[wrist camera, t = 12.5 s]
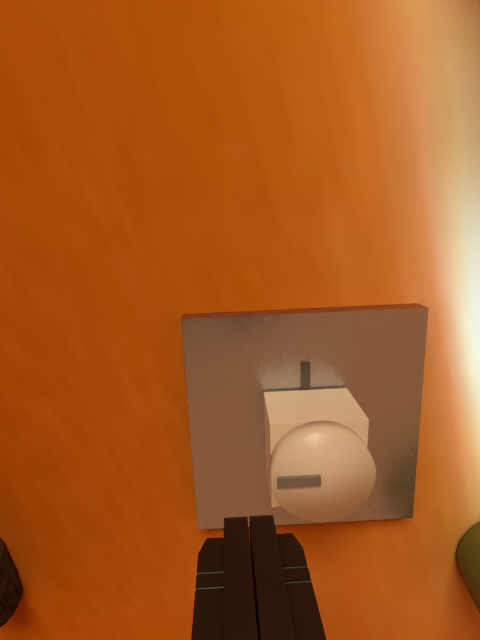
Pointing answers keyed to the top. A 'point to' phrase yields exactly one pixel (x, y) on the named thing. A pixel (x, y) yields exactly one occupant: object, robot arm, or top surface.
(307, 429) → the knob
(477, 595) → the plant pot
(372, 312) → the block
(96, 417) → the top surface
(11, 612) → the hand tool
